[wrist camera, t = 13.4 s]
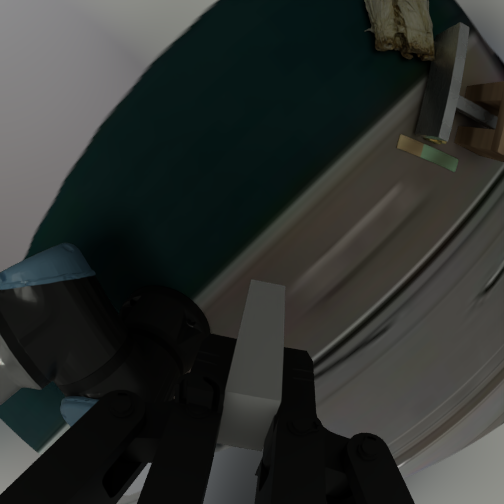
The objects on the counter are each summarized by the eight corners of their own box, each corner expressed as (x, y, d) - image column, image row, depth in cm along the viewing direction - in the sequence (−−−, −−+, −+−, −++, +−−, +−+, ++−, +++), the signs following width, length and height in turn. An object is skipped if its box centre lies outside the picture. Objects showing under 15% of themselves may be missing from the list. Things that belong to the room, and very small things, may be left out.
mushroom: (437, 66, 30) (455, 60, 25) (367, 58, 31) (378, 49, 26) (419, -26, 24) (432, -41, 19) (351, -35, 26) (358, -53, 21)
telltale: (424, 138, 33) (437, 141, 29) (426, 131, 33) (440, 133, 29) (434, 143, 33) (449, 146, 29) (436, 136, 33) (451, 138, 29)
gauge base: (396, 147, 35) (429, 156, 25) (417, 61, 30) (453, 45, 20) (471, 180, 34) (515, 199, 25) (491, 100, 30) (537, 100, 20)
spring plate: (414, 134, 32) (438, 137, 26) (435, 35, 27) (460, 22, 20) (477, 163, 32) (506, 172, 26) (497, 70, 26) (526, 66, 20)
